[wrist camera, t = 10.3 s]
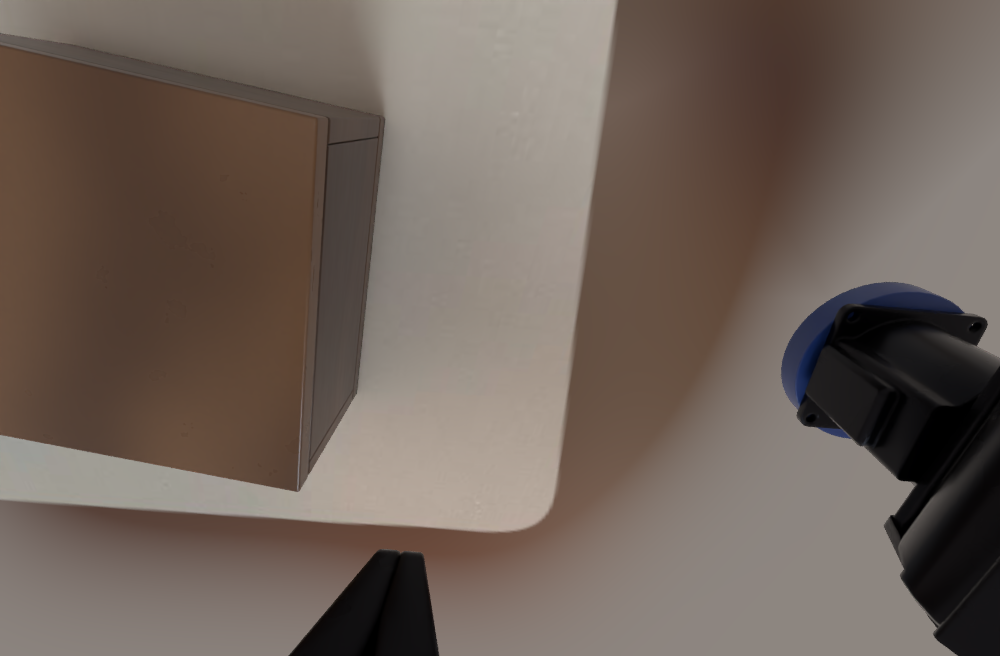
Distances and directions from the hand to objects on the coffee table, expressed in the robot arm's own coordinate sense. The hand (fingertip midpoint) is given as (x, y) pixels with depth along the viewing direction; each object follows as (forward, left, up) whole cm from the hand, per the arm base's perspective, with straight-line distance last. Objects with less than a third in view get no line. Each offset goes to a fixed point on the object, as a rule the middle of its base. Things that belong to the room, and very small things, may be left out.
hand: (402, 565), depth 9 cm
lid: (+10, -2, -7) cm, 13 cm away
